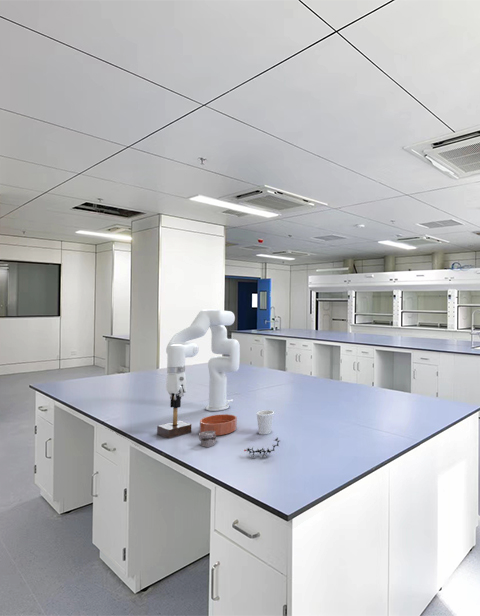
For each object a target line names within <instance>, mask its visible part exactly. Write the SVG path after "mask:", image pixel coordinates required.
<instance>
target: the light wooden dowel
mask: <svg viewBox="0 0 480 616" xmlns="http://www.w3.org/2000/svg"><path fill="white" fill-rule="evenodd" d="M172 408H173V407H172ZM178 409H179V408H173V409H172V422H173V425H177V421H178Z"/></svg>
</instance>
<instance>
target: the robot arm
mask: <svg viewBox="0 0 480 616" xmlns="http://www.w3.org/2000/svg"><path fill="white" fill-rule="evenodd" d="M235 320H236V316H235V313H234V312H233V311H231V310H225V309H224V310H223V309H202V310H200V311H198V313H197V315H196V317H195V318H194V319H193V321H192V322H191V324H190V325H189V326H187V327H186V328H184V329H182V330H179V332H177V333H176V334H174V335H173V336H172V338H171V339H170V340H169V341H168V343H167V345H166V349H165V352H166V354H167V357H166V359H167V360H166V361H167V362H166V363H167V364H166V374H167V376H166V391H167V393H168V394H169V399H170V404H169V405H170V408H178V409H179V408H181V404H182V402H181V401H182V397H184V396H185V393H187V391H188V389H187V376H186V358H193V357H195V356H197V355H198V353H199V345H198V344H197V343H195V342H189V341H192V340H196V339H199V338H203V337H204V336H205V335H206V334H207V332H208V330H209V329H210V331H211V338H210V339H211V343H210V344H211V345H210V346H211V347H210V349H211V352H212V353H213V354H214V355H216V356H212V357H210V358H209V360H208V362H207V368H208V374H209V387H208V405H207V406H206V407H205V410H206V411H210V412H219V411H224V410H228V409H229V408H230V405H229V404H232V403H234V399H233V398H232V399H227V389H228V377H227V375H226V374H225V373H236V372H238V371H239V370H240V363H241V361H240V360H241V345H240V342H239V340H238V339H236V338H228V330H227V327H226V326H232V325H233V324H234V322H235ZM217 355H218V356H217ZM220 355H223V356H220ZM224 355H229V356H224Z"/></svg>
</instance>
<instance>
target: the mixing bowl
mask: <svg viewBox="0 0 480 616" xmlns="http://www.w3.org/2000/svg"><path fill="white" fill-rule="evenodd" d="M237 421H238V417H237V416H236V415H234V414H227V413H226V414H224V413H223V414H222V413H221V414H214V415H209V416H205V417H203V418H201V419H200V420H199V429H198V430H199V433H201V432H205V431H215V434H216V437H217V436H224V435H225V436H226V435H228V434H231V433H233V432H235V431H236V430H237V428H238V427H237V424H238V423H237ZM213 436H214V435H213Z"/></svg>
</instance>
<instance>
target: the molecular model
mask: <svg viewBox="0 0 480 616" xmlns="http://www.w3.org/2000/svg"><path fill="white" fill-rule="evenodd" d="M273 442H277V444H272V445H271V446H272V449H269V447H266V450H265V447H264V446H262V447H261V448H260V447H257V448H256V450H254V446H248V447H246V449H244V450H243V452H246V454H248V456H249V457H250V458H256V456H255V453H257V455H259V456H260V458H263V457H264V458H267V455H268V454H269V456H271V455H272V452H274V453H275V452H276V450H275V447H280V444H279V442H282V439H280V440H279V436H276V438H275V439H273ZM262 453H263V455H261V454H262Z"/></svg>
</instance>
